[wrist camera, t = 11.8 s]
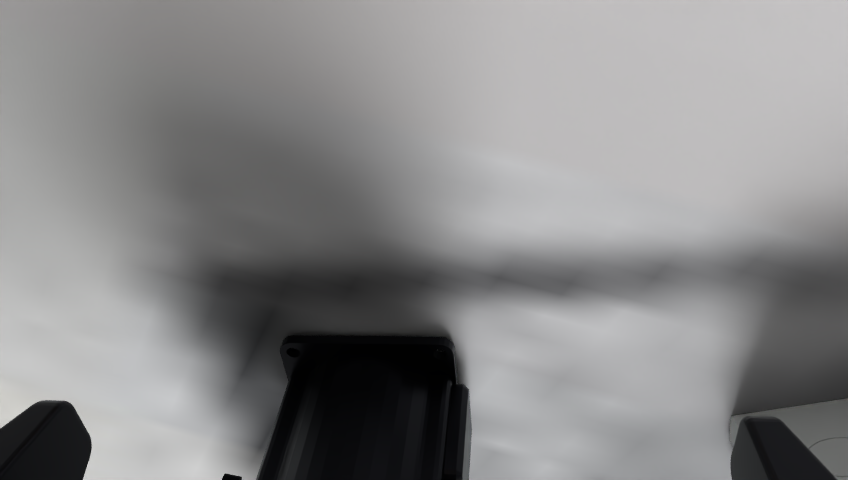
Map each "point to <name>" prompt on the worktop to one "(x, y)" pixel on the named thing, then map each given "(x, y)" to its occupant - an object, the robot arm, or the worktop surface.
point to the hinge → (814, 431)
